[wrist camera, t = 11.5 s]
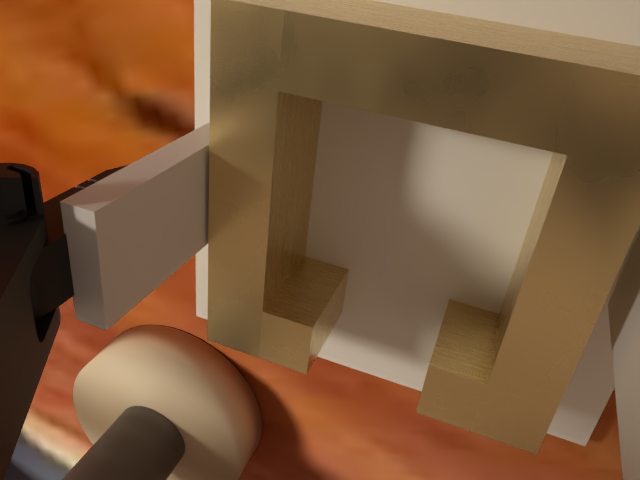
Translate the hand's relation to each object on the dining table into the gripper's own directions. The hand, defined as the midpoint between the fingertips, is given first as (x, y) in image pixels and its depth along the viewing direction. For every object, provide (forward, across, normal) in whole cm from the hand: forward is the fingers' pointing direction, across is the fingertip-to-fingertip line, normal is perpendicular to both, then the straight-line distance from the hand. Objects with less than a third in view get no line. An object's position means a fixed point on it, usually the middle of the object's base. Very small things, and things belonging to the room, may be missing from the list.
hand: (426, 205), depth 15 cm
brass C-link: (0, 0, 0) cm, 0 cm away
